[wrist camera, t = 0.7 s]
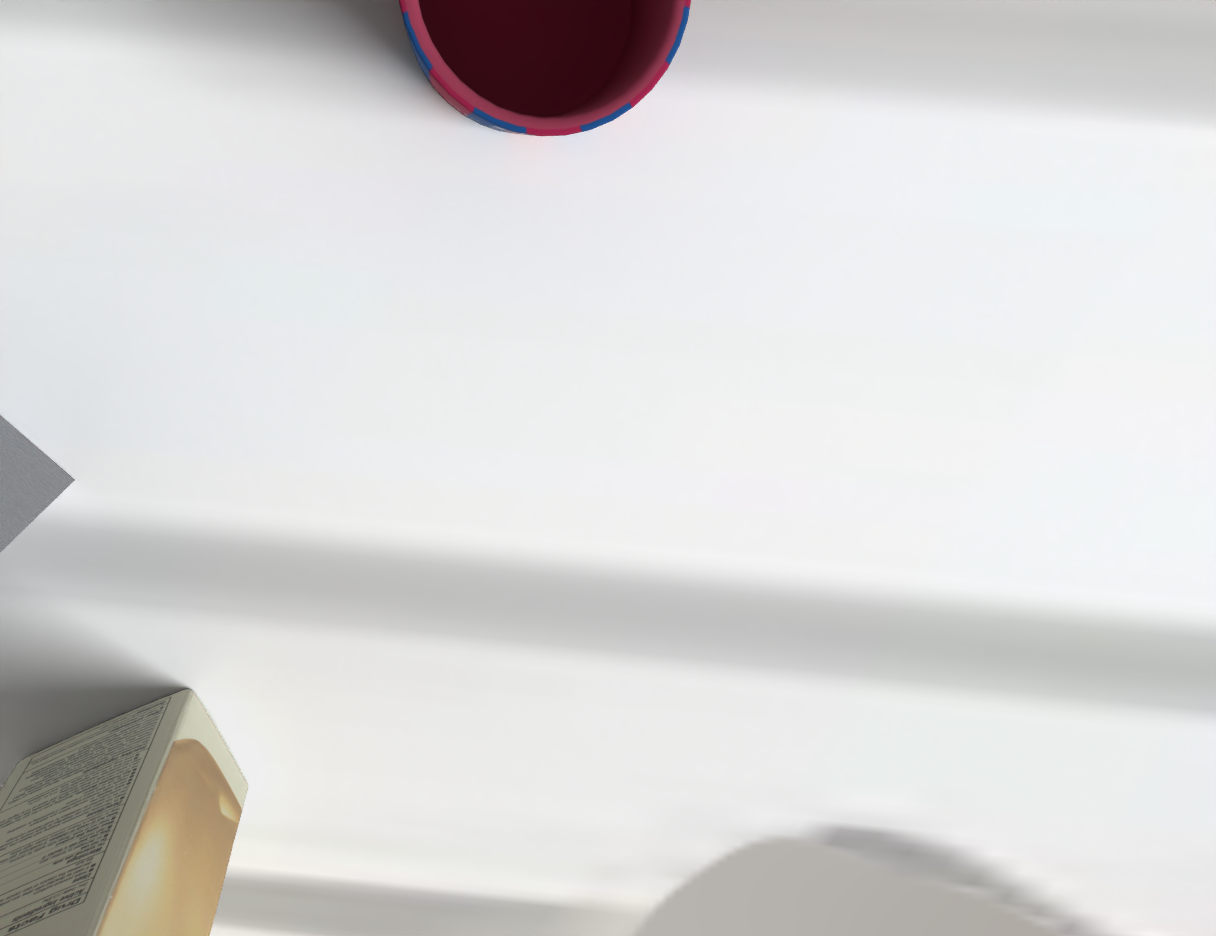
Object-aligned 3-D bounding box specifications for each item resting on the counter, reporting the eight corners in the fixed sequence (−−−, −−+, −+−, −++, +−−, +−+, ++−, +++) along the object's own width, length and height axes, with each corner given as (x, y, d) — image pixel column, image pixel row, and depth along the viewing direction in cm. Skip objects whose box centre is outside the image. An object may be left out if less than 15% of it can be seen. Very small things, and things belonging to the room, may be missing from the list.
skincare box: (84, 857, 36) (-79, 1194, 25) (16, 756, 35) (-192, 1064, 23) (261, 782, 37) (181, 1083, 25) (200, 679, 35) (85, 948, 24)
